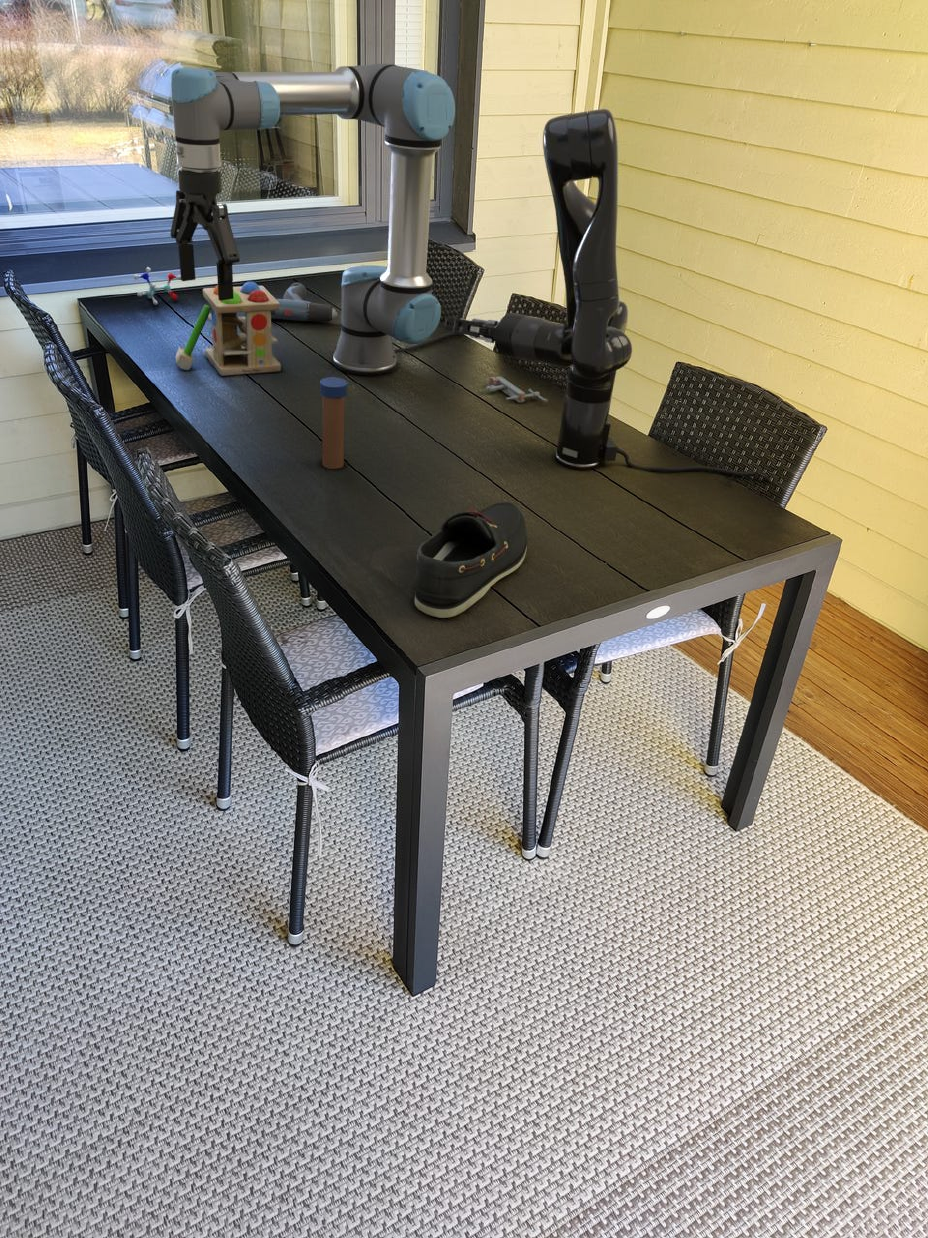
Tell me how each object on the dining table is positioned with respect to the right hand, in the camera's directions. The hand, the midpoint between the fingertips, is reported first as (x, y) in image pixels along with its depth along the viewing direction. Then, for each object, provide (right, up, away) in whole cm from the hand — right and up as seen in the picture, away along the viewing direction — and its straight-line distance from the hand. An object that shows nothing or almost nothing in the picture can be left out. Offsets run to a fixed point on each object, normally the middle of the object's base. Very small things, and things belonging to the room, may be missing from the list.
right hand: (462, 324), depth 183 cm
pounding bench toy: (-56, +5, +47) cm, 73 cm away
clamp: (+12, -3, +46) cm, 47 cm away
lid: (-24, -11, 0) cm, 26 cm away
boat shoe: (+2, -47, -20) cm, 51 cm away
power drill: (-43, +28, +84) cm, 98 cm away
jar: (-25, -25, +9) cm, 36 cm away
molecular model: (-83, +31, +83) cm, 121 cm away
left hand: (-48, +7, +3) cm, 49 cm away
